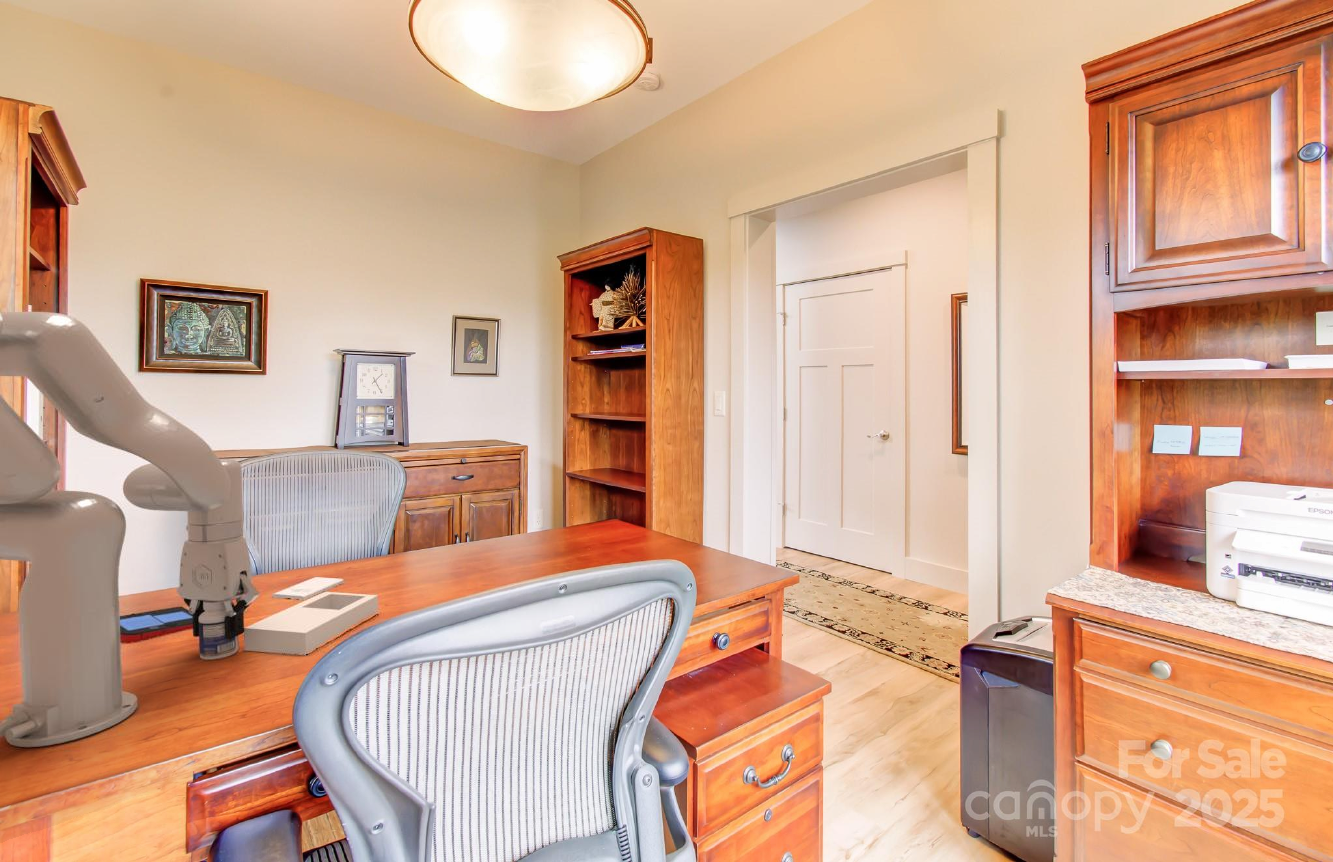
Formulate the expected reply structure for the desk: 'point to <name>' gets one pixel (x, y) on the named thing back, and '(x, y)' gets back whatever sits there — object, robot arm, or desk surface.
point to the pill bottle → (214, 632)
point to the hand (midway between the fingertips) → (218, 634)
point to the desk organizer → (309, 623)
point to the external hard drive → (308, 588)
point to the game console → (154, 623)
